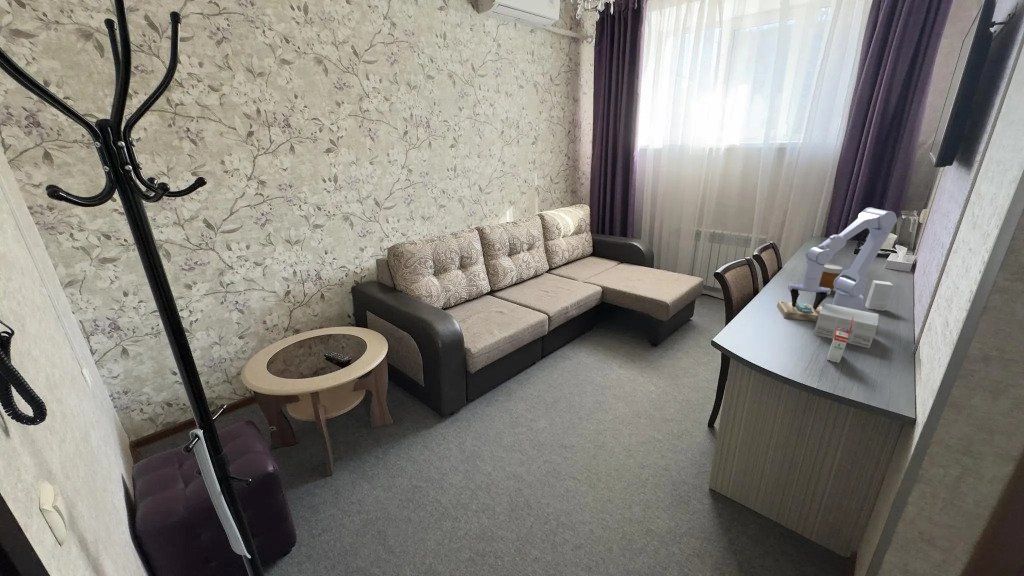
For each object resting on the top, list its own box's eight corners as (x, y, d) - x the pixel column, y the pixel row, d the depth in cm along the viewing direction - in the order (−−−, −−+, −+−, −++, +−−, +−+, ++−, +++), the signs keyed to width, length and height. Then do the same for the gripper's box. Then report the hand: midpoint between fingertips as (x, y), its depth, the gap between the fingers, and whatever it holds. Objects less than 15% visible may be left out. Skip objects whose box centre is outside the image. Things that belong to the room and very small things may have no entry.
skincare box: (881, 307, 181) (890, 282, 176) (884, 311, 177) (894, 285, 173) (864, 305, 183) (872, 279, 179) (867, 308, 179) (875, 283, 175)
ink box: (826, 360, 139) (838, 321, 134) (828, 351, 145) (840, 313, 140) (839, 363, 137) (853, 324, 132) (841, 354, 143) (854, 316, 138)
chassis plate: (819, 311, 177) (820, 305, 176) (829, 323, 166) (831, 316, 165) (776, 306, 181) (778, 300, 180) (783, 317, 171) (785, 311, 170)
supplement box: (871, 336, 156) (879, 313, 152) (869, 349, 147) (878, 325, 143) (817, 323, 166) (824, 301, 163) (812, 334, 157) (819, 312, 154)
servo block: (804, 310, 177) (806, 300, 176) (810, 319, 169) (813, 308, 167) (793, 309, 179) (796, 298, 177) (799, 317, 170) (802, 307, 169)
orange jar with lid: (815, 291, 198) (822, 267, 194) (810, 285, 206) (816, 262, 202) (839, 294, 195) (846, 270, 191) (833, 287, 203) (840, 264, 199)
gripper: (829, 275, 169) (820, 306, 174) (789, 271, 173) (781, 301, 178) (836, 281, 163) (826, 312, 168) (794, 277, 167) (785, 307, 172)
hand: (803, 307), depth 173 cm, fingers open, 7 cm apart
